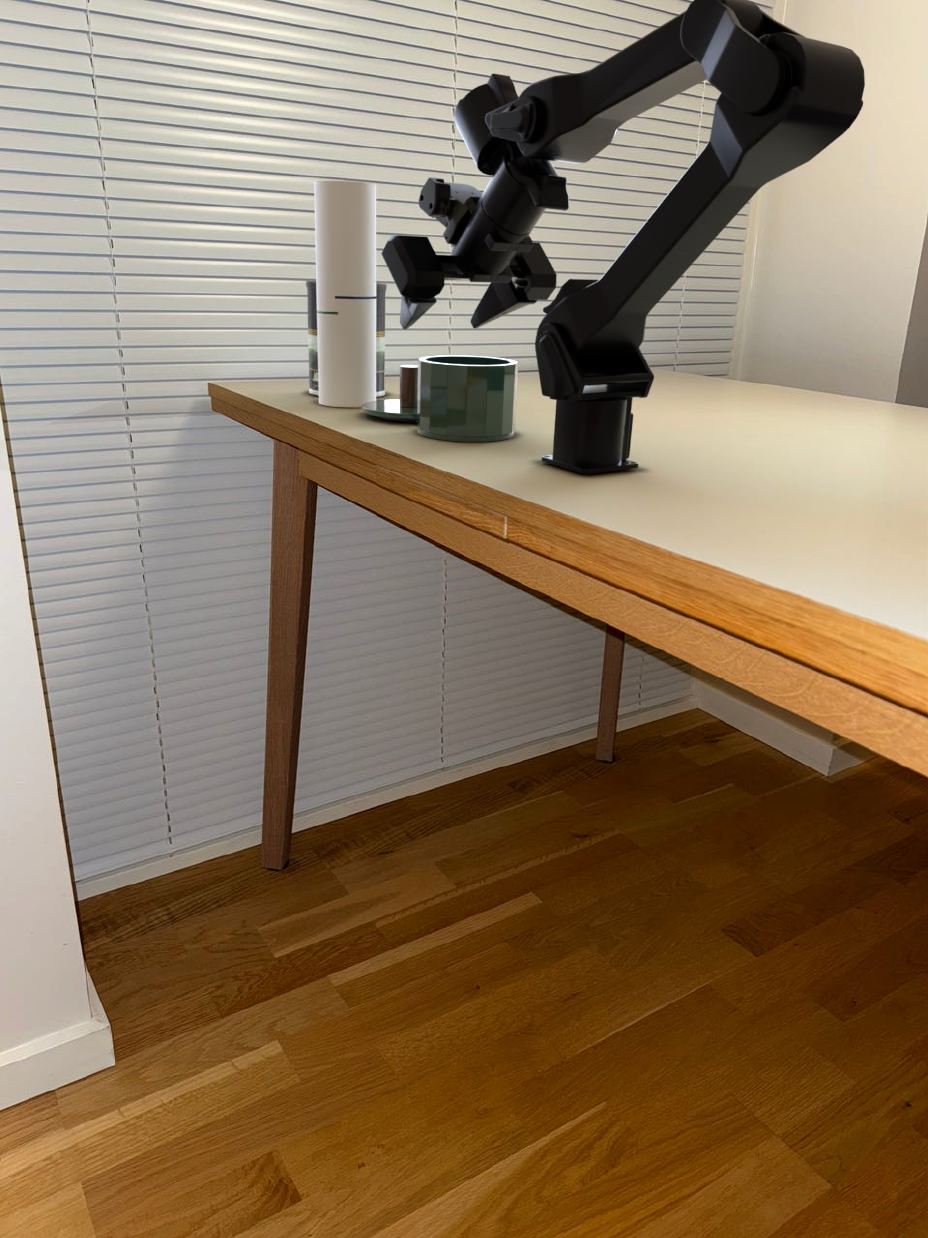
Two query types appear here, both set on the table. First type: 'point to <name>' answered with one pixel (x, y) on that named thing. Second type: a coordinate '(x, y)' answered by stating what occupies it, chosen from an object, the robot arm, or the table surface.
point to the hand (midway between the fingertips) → (438, 325)
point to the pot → (467, 398)
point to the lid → (401, 407)
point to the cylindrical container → (346, 292)
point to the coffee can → (314, 343)
